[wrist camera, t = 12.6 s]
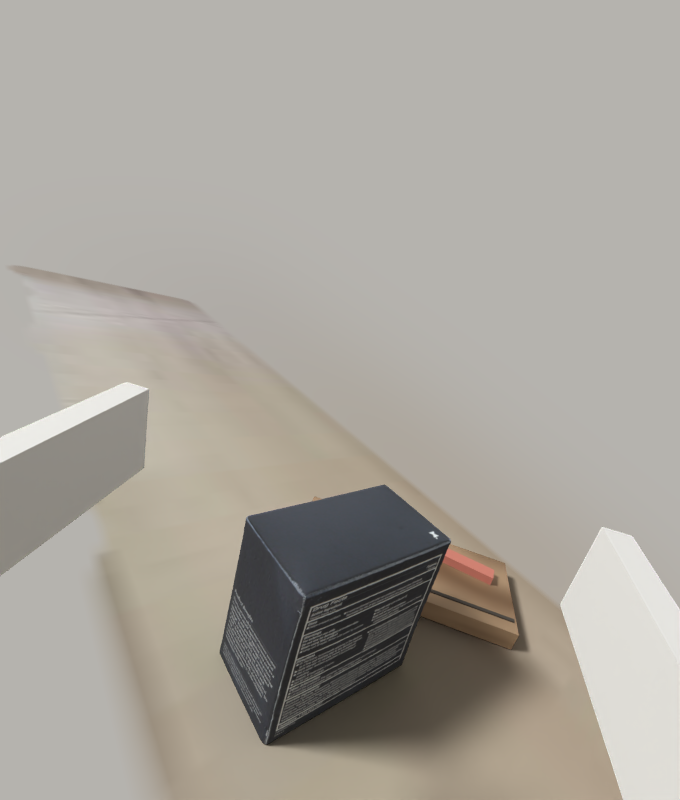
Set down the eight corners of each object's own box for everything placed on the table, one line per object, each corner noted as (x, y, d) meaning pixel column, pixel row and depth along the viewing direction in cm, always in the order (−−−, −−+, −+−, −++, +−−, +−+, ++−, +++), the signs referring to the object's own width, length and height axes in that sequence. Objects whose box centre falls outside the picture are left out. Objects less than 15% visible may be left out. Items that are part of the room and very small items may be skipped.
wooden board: (510, 649, 33) (519, 634, 33) (283, 565, 35) (287, 549, 35) (498, 576, 40) (505, 562, 40) (310, 509, 42) (314, 495, 42)
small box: (346, 593, 34) (385, 478, 30) (404, 666, 30) (459, 541, 26) (213, 647, 28) (242, 508, 24) (263, 751, 23) (308, 601, 19)
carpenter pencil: (491, 576, 38) (494, 569, 38) (490, 585, 37) (493, 578, 37) (346, 507, 41) (348, 501, 41) (341, 513, 40) (343, 507, 40)
